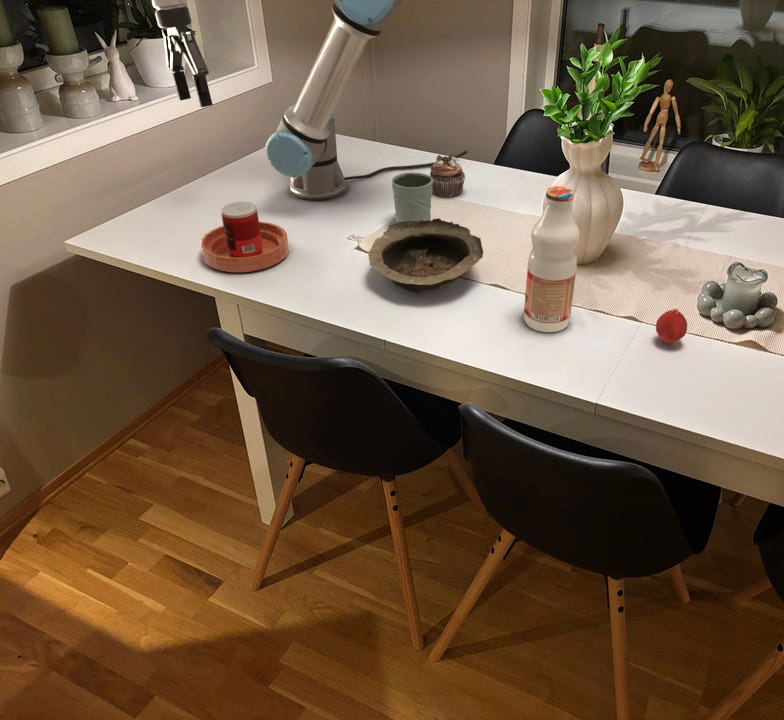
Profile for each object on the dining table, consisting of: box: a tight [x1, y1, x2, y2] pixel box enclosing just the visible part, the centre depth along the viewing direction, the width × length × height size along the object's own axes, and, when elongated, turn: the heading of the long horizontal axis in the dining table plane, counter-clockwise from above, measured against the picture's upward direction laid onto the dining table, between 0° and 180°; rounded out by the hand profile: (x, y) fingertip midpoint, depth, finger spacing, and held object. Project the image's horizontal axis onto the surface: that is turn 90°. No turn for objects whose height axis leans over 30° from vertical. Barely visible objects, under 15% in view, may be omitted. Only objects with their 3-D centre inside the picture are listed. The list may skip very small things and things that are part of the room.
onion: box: [655, 307, 688, 345], centre depth 141 cm, size 6×6×8 cm
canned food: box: [220, 201, 262, 257], centre depth 167 cm, size 8×8×11 cm
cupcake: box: [429, 154, 466, 199], centre depth 200 cm, size 10×10×10 cm
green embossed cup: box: [391, 172, 433, 223], centre depth 182 cm, size 10×10×12 cm
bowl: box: [200, 221, 290, 273], centre depth 170 cm, size 19×19×4 cm
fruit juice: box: [523, 185, 581, 333], centre depth 141 cm, size 9×9×28 cm
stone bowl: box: [367, 217, 484, 293], centre depth 160 cm, size 25×25×9 cm
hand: (195, 102), depth 179 cm, fingers open, 13 cm apart
